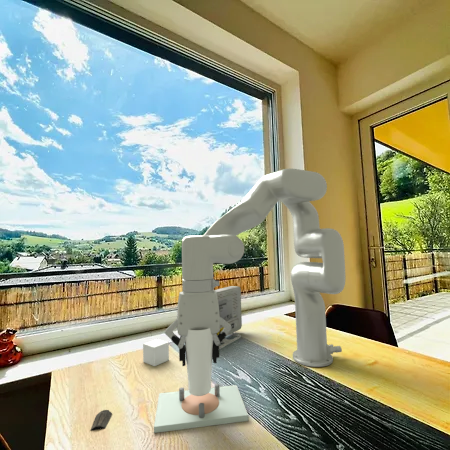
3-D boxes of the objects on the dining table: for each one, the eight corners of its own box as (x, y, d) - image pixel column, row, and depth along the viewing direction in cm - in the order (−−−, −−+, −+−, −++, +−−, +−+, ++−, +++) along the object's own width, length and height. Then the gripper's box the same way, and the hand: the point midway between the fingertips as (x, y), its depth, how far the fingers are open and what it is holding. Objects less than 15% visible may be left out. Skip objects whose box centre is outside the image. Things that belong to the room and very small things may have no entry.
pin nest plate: (236, 389, 73) (236, 375, 73) (248, 420, 60) (247, 403, 60) (159, 398, 69) (159, 383, 70) (153, 432, 57) (153, 414, 57)
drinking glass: (186, 384, 68) (185, 322, 69) (213, 383, 68) (212, 321, 70) (184, 400, 61) (183, 331, 62) (214, 398, 62) (213, 329, 63)
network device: (230, 330, 122) (229, 285, 124) (247, 333, 117) (245, 286, 119) (191, 349, 102) (190, 294, 103) (209, 354, 96) (208, 296, 98)
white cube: (143, 362, 92) (143, 343, 92) (157, 356, 96) (157, 338, 97) (154, 366, 88) (154, 347, 88) (169, 360, 93) (168, 341, 93)
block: (90, 437, 58) (88, 428, 58) (97, 417, 64) (96, 410, 64) (108, 432, 59) (107, 424, 59) (113, 413, 64) (112, 406, 64)
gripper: (230, 282, 72) (232, 353, 70) (162, 285, 69) (163, 359, 68) (236, 286, 64) (238, 365, 63) (160, 290, 62) (160, 373, 60)
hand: (199, 361), depth 65 cm, fingers closed on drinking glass, 6 cm apart
